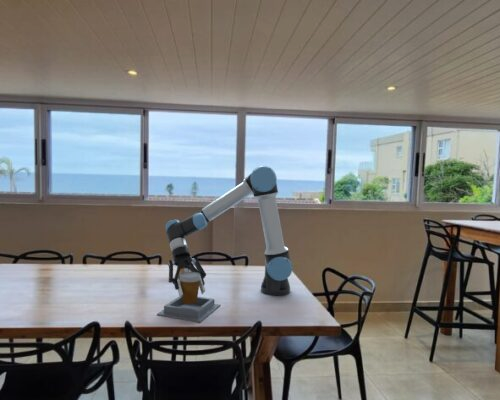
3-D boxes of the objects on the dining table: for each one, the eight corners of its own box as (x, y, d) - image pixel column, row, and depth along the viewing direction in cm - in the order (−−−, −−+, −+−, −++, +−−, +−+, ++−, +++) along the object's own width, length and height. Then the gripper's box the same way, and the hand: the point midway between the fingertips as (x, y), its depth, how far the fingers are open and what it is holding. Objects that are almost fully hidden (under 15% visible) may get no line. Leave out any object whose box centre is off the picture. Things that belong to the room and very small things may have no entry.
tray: (220, 305, 161) (220, 298, 161) (200, 322, 142) (200, 314, 142) (180, 299, 168) (180, 292, 167) (157, 315, 149) (157, 306, 148)
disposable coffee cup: (204, 300, 157) (205, 273, 156) (192, 307, 149) (193, 278, 148) (186, 296, 161) (187, 270, 160) (173, 303, 152) (174, 275, 152)
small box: (176, 276, 206) (177, 258, 205) (182, 274, 211) (182, 256, 210) (188, 278, 203) (189, 260, 202) (193, 275, 208) (194, 258, 207)
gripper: (199, 252, 172) (213, 294, 160) (154, 256, 161) (165, 302, 148) (204, 243, 168) (218, 286, 155) (158, 247, 156) (169, 293, 144)
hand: (192, 294), depth 152 cm, fingers closed on disposable coffee cup, 9 cm apart
